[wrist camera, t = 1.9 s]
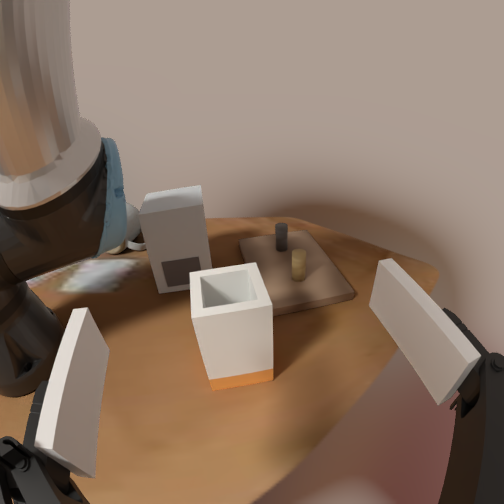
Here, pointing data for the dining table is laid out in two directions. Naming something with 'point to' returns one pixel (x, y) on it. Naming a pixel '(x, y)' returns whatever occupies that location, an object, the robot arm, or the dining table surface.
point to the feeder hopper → (175, 236)
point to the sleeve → (233, 325)
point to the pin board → (282, 270)
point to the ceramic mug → (130, 231)
